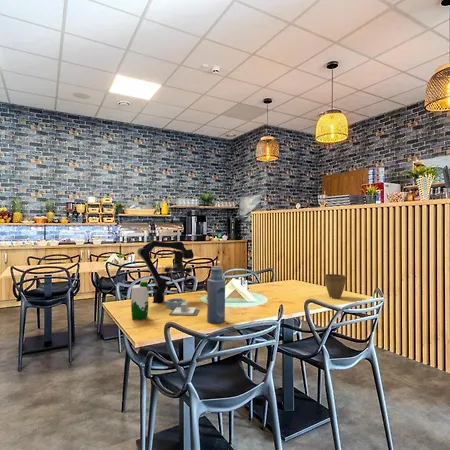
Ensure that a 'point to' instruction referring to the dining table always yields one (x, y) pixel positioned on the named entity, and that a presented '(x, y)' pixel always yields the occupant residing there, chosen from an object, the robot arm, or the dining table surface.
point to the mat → (187, 315)
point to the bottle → (216, 296)
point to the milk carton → (139, 301)
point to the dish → (174, 303)
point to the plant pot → (335, 284)
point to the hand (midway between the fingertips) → (178, 282)
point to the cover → (184, 309)
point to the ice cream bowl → (205, 284)
